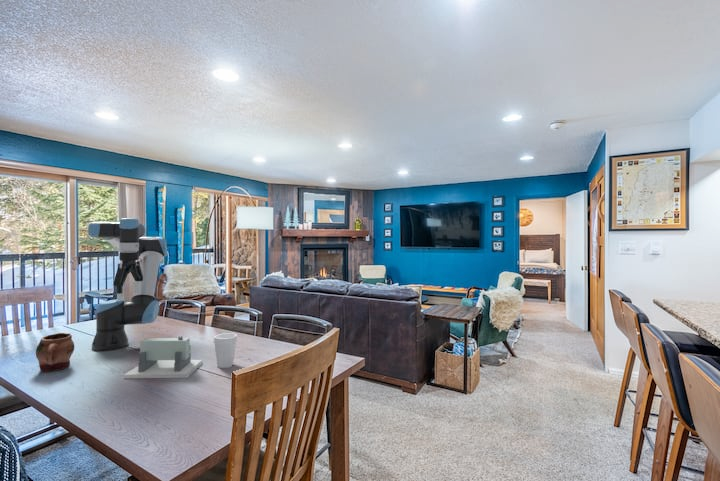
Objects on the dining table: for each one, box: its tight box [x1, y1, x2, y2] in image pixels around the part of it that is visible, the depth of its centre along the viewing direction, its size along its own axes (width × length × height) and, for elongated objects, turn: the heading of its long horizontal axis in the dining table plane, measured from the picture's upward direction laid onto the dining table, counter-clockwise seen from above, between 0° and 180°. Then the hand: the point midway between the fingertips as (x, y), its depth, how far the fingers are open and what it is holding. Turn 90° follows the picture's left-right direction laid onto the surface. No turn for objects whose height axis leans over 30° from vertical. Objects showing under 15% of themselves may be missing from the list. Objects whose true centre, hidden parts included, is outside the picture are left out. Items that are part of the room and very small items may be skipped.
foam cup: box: [213, 332, 238, 369], centre depth 153 cm, size 10×9×13 cm
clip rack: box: [123, 351, 203, 379], centre depth 147 cm, size 16×24×9 cm, turn 94°
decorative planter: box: [35, 332, 75, 373], centre depth 146 cm, size 20×12×14 cm, turn 36°
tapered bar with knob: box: [139, 336, 191, 361], centre depth 146 cm, size 4×18×9 cm, turn 95°
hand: (129, 297), depth 162 cm, fingers open, 13 cm apart
